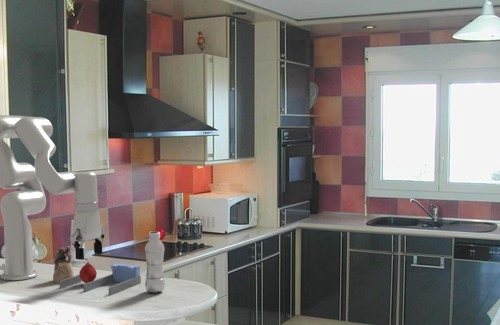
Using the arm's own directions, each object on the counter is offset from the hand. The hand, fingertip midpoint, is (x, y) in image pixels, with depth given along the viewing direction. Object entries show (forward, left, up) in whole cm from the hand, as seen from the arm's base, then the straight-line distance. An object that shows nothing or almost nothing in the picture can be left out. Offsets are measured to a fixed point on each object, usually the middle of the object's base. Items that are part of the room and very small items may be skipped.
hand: (89, 256), depth 211 cm
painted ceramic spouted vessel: (-13, +1, -10) cm, 16 cm away
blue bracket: (+9, +8, -10) cm, 16 cm away
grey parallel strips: (+4, 0, -10) cm, 11 cm away
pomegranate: (-1, 0, -10) cm, 10 cm away
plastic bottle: (+26, +1, -10) cm, 28 cm away
